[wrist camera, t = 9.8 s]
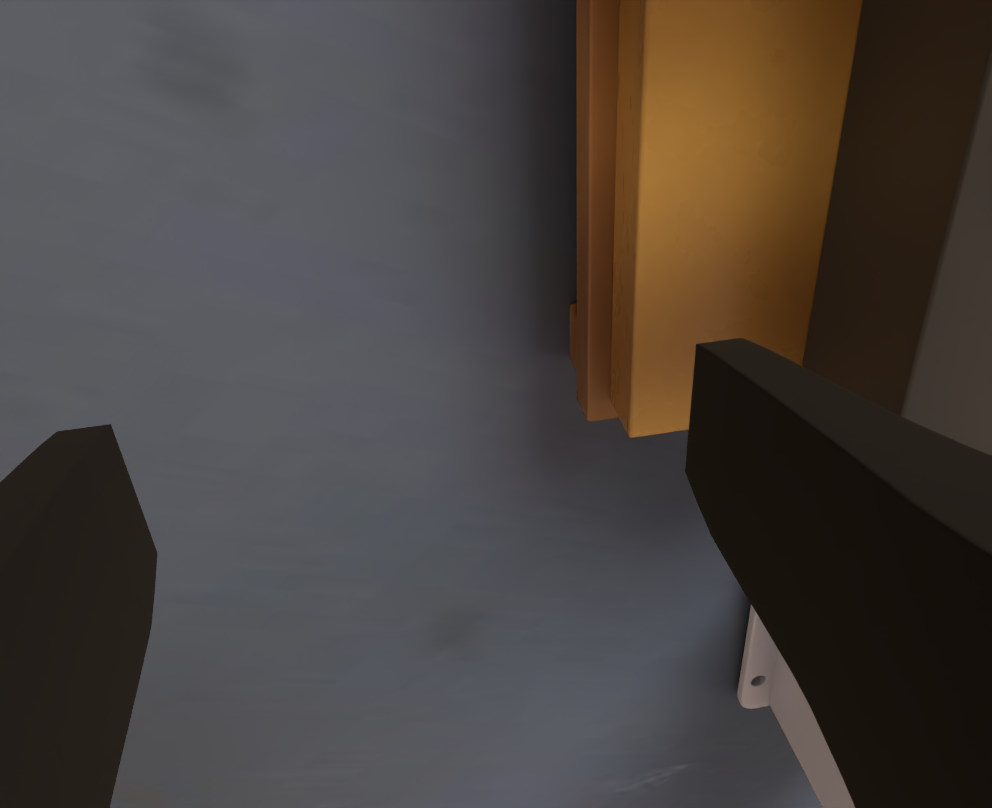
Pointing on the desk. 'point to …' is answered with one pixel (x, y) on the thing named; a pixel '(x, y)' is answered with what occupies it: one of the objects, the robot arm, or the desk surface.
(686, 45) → the footstool
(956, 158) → the remote
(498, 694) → the desk surface
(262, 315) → the desk surface
